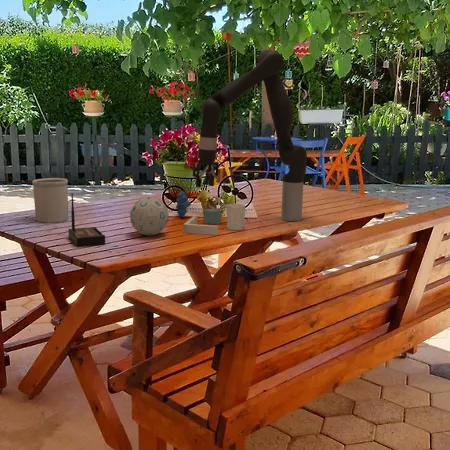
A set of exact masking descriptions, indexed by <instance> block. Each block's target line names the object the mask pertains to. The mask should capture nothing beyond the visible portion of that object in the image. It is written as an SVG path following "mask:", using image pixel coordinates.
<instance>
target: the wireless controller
mask: <svg viewBox="0 0 450 450" xmlns="http://www.w3.org/2000/svg"><path fill="white" fill-rule="evenodd" d="M70 195H71V211H70V212H71V228H68V238H69V240H71V242H72V243H73V245H75V247H76V248H81V247H84V248H85V247H94V246H95V247H96V246H104V244H105V245H106V234H104V233H102V232H101V231H100V230H99V229H98V228H97V227H96V226H89V227H77V228H76V226H75V225H76V224H75V223H76V222H75V220H76V219H75V207H74V193H73V192H72V193H70Z"/></svg>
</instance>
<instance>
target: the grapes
mask: <svg viewBox="0 0 450 450" xmlns="http://www.w3.org/2000/svg"><path fill="white" fill-rule="evenodd" d="M188 199H189V198H188V196H187V194H186V192H185V191H180V192H179V193H177V198H176V200H175V201H176V202H177V203H176V206H175V208H176V209H177V211H176V213H177V215H178V216H179V217H180V218H184V217H185V216H186V214H187V213H188V210H187V209H188V208H189V207H190V206H191V204H192V203H191V202H190V201H189V200H188Z"/></svg>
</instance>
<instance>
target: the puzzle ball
mask: <svg viewBox="0 0 450 450" xmlns="http://www.w3.org/2000/svg"><path fill="white" fill-rule="evenodd" d="M134 203H135V204H134V205H133V206H132V208H131V210H130V213H129V219H130V223H131V225H132V227H133V229H134V230H136V231H137V232H138V233H140V234H141V235H144V236H146V237H147V236H156V235H158V234H159V233H160V232H161V233H162V231H163V230H165V228H166V227H167V225H168V223H169V218H170V215H169V211H168V208H167V206H166V205H165V204H164V202H162V200H160V199H158V198H155V197H149V196H147V197H144V198H143V197H142V198H141V199H139V200H138V201H136V202H134Z"/></svg>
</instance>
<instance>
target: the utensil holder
mask: <svg viewBox="0 0 450 450" xmlns="http://www.w3.org/2000/svg"><path fill="white" fill-rule="evenodd" d="M31 183H32V186H33V187H32V188H33V189H32V190H33V200H34V202H33V203H34V209H35V210H34V212H35V221H36V222H38V223H44V224H46V223H49V224H52V223H61V222H66V221H68V220H69V196H68V195H69V194H68V191H69V190H68V183H69V181H68V178H62V177H61V178H60V177H49V178H38V179H34V180H32V181H31Z"/></svg>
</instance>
